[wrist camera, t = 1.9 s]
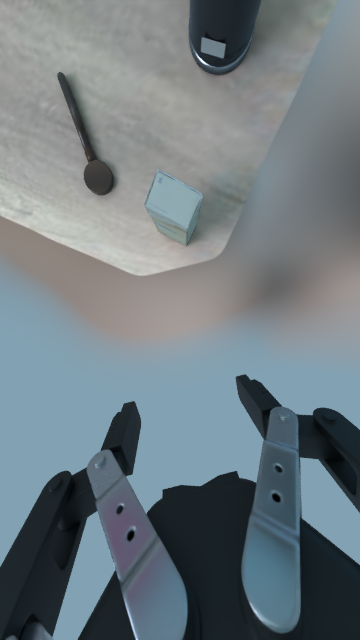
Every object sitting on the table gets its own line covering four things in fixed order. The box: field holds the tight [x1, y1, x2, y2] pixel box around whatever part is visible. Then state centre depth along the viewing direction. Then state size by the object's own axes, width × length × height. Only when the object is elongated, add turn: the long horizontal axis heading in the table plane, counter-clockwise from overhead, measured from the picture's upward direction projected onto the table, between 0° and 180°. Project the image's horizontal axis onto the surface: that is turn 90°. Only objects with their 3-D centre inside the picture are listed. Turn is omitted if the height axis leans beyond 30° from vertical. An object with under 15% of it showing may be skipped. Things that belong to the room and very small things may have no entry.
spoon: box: [57, 72, 113, 195], centre depth 29 cm, size 17×5×1 cm, turn 17°
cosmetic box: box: [144, 170, 203, 246], centre depth 26 cm, size 6×4×12 cm
